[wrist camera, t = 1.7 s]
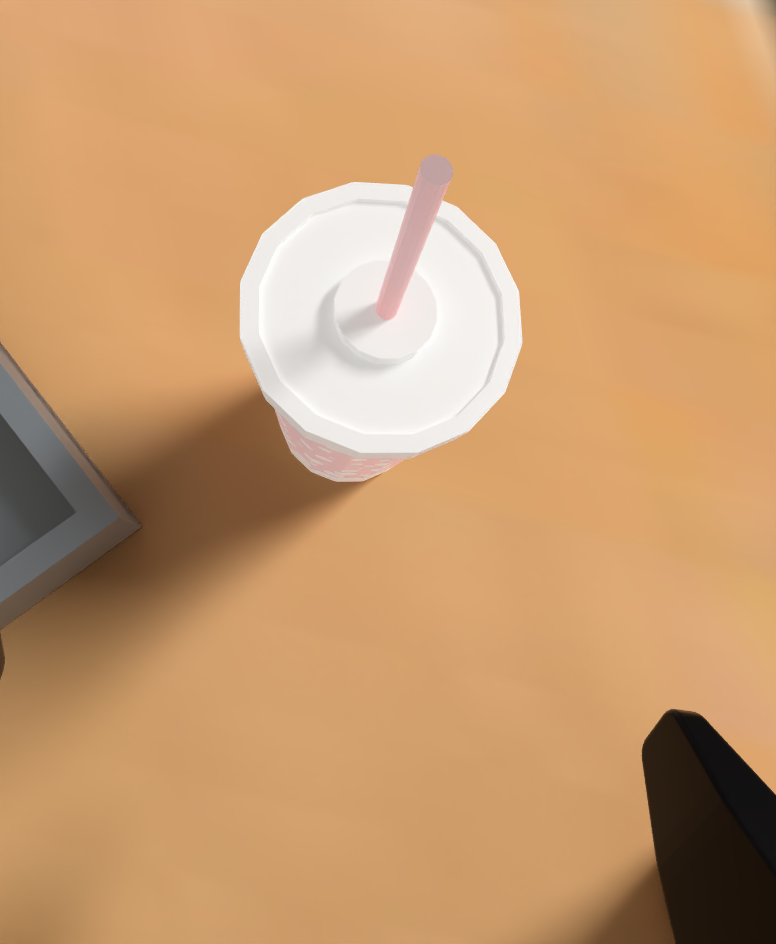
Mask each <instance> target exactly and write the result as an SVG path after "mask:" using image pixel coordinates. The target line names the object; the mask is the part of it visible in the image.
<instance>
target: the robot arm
mask: <svg viewBox="0 0 776 944" xmlns="http://www.w3.org/2000/svg"><path fill="white" fill-rule="evenodd" d="M4 664H5V656H4V650H3V645H2V639H1V634H0V679H1V676H2V673H3V669H4ZM642 763H643V770H644V777H645V784H646V791H647V799H648V806H649V813H650V820H651V827H652V834H653V841H654V849H655V855H656V861H657V866H658V872H659V876H660V881H661V885H662V890H663V894H664V898H665V902H666V906H667V911H668V915H669V919H670V923H671V927H672V931H673V935H674V940H675V944H776V795H775V793H774V792H773V791H772V790H771V789H770V788H769V787H768V786H767V785H766V784H765V783H764V782H763V781H762V779H761V778H760V777H759V776H758V775H757V774H756V773H755V772H754V771H753V770H752V769H751V768H750V767H749V765H748V764H747V763H746V762H745V761H744V760H743V759H742V758H741V757H740V756H739V755H738V754H737V753H736V751H735V750H734V749H733V748H732V747H731V746H730V745H729V744H728V743H727V742H726V741H725V740H724V739H723V738H722V736H721V735H720V734H719V733H718V732H717V731H716V730H715V729H714V728H713V727H712V726H711V725H710V724H709V722H708V721H707V720H706V719H705V718H704V717H702V716H701V715H700V714H698V713H696V712H692V711H684V710H677V709H671V710H668V711H667V712H665V714H664V715H663V716H662V717H661V719H660V720H659V721H658V723H657V724H656V726H655V727H654V728H653V730H652V731H651V732H650V734H649V735H648V736H647V738H646V739H645V741H644V744H643V748H642Z"/></svg>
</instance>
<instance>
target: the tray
mask: <svg viewBox="0 0 776 944" xmlns="http://www.w3.org/2000/svg"><path fill="white" fill-rule="evenodd" d="M141 527H142V525H141V524H140V522H139V521H138V520H137V519H136V517H135V516H134V515H133V513H132V512H131V511H130V510H129V508H128V507H127V506H126V504H125V503H124V502H123V500H122V499H121V498H120V497H119V495H118V494H117V493H116V491H115V490H114V489H113V488H112V486H111V485H110V484H109V482H108V481H107V480H106V478H105V477H104V476H103V475H102V473H101V472H100V471H99V469H98V468H97V467H96V466H95V464H94V463H93V462H92V460H91V459H90V458H89V456H88V455H87V454H86V453H85V451H84V450H83V449H82V447H81V446H80V445H79V444H78V442H77V441H76V440H75V438H74V437H73V436H72V434H71V433H70V432H69V431H68V429H67V428H66V427H65V425H64V424H63V423H62V422H61V420H60V419H59V418H58V416H57V415H56V414H55V412H54V411H53V410H52V409H51V407H50V406H49V405H48V403H47V402H46V401H45V400H44V398H43V397H42V396H41V394H40V393H39V392H38V390H37V389H36V388H35V387H34V385H33V384H32V383H31V381H30V380H29V379H28V378H27V376H26V375H25V374H24V372H23V371H22V370H21V369H20V367H19V366H18V365H17V363H16V362H15V361H14V359H13V358H12V357H11V356H10V354H9V353H8V352H7V350H6V349H5V348H4V347H3V345H2V344H1V343H0V630H1V629H2V628H4V627H5V626H6V625H8V624H9V623H11V622H12V621H13V620H15V619H16V618H17V617H19V616H20V615H22V614H23V613H24V612H26V611H27V610H28V609H30V608H31V607H33V606H34V605H35V604H37V603H38V602H39V601H41V600H42V599H44V598H45V597H46V596H48V595H49V594H50V593H52V592H53V591H55V590H56V589H57V588H59V587H60V586H61V585H63V584H64V583H66V582H67V581H68V580H70V579H71V578H72V577H74V576H75V575H76V574H78V573H79V572H81V571H82V570H83V569H85V568H86V567H87V566H89V565H90V564H92V563H93V562H94V561H96V560H97V559H98V558H100V557H101V556H103V555H104V554H105V553H107V552H108V551H109V550H111V549H112V548H114V547H115V546H116V545H118V544H119V543H120V542H122V541H123V540H125V539H126V538H127V537H129V536H130V535H131V534H133V533H134V532H136V531H137V530H138V529H140V528H141Z"/></svg>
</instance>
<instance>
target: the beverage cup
mask: <svg viewBox="0 0 776 944" xmlns="http://www.w3.org/2000/svg"><path fill="white" fill-rule="evenodd" d="M452 175H453V168H452V166H451V163H450V162H449V161H448V160H447V159H446V158H445V157H442V156H440V155H430V156H427V157H426V158H425V159H423V160H422V162H421V165H420V168H419V171H418V174H417V177H416V180H415V183H414V187H410V186H408V185H396V184H379V183H361V182H352V183H349V184H346V185H343V186H340V187H337V188H334V189H331V190H327V191H324V192H321V193H318V194H315V195H312V196H309V197H306V198H303V199H302V200H300V201H299V202H298V203H297V204H296V205H295V206H294V207H292V208H291V209H290V210H289V211H288V212H287V213H285V214H284V215H283V216H282V217H281V218H280V219H279V220H277V221H276V222H275V223H274V224H273V225H272V226H271V227H269V228H268V229H267V230H266V231H265V232H264V233H263V234H262V236H261V238H260V240H259V242H258V244H257V247H256V249H255V251H254V253H253V255H252V257H251V260H250V262H249V264H248V266H247V268H246V271H245V273H244V275H243V277H242V279H241V281H240V340H241V344H242V346H243V348H244V352H245V354H246V356H247V359H248V361H249V363H250V366H251V368H252V370H253V372H254V375H255V377H256V379H257V382H258V384H259V386H260V388H261V391H262V393H263V395H264V398H265V400H266V401H267V402H268V403H269V404H270V405H271V406H272V407H274V408H275V412H276V415H277V418H278V421H279V424H280V427H281V430H282V432H283V434H284V437H285V439H286V441H287V444H288V446H289V448H290V450H291V453H292V454H293V455H294V456H295V457H296V458H297V459H298V460H299V461H300V462H301V463H302V464H303V465H304V466H305V467H306V468H308V469H309V470H310V471H311V472H313V473H315V474H318V475H320V476H323V477H325V478H328V479H330V480H333V481H335V482H354V481H365V480H367V479H369V478H372V477H374V476H376V475H379V474H381V473H383V472H386V471H387V470H389V469H391V468H392V467H394V466H395V465H397V464H398V463H400V462H401V461H403V460H405V459H406V458H413V457H415V456H417V455H420V454H422V453H424V452H427V451H429V450H431V449H434V448H436V447H438V446H441V445H443V444H445V443H448V442H450V441H452V440H455V439H457V438H459V437H460V436H462V435H464V434H466V433H467V432H468V431H469V430H470V429H471V428H472V427H473V426H474V425H475V424H476V423H477V422H478V421H479V420H480V419H481V418H482V417H483V415H484V414H485V413H486V412H487V411H488V410H489V409H490V408H491V407H492V406H493V405H494V404H495V403H496V402H497V401H498V400H499V398H500V397H501V396H502V395H503V394H504V393H505V392H506V389H507V386H508V383H509V380H510V377H511V375H512V372H513V369H514V366H515V363H516V360H517V357H518V355H519V352H520V349H521V346H522V330H521V316H520V301H519V291H518V289H517V287H516V285H515V282H514V280H513V278H512V276H511V274H510V272H509V270H508V268H507V266H506V264H505V262H504V260H503V258H502V256H501V253H500V251H499V249H498V247H497V245H496V244H495V243H494V242H493V241H492V240H491V239H490V238H489V237H488V236H487V235H486V234H485V233H484V232H483V231H482V230H481V229H480V228H479V227H478V226H477V225H476V224H474V223H473V222H472V221H471V220H470V219H469V218H468V217H467V216H466V215H465V214H464V213H463V212H462V211H461V210H460V209H459V208H458V207H456V206H454V205H452V204H449V203H447V202H445V201H442V200H443V198H444V195H445V193H446V190H447V188H448V185H449V183H450V181H451V178H452Z"/></svg>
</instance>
